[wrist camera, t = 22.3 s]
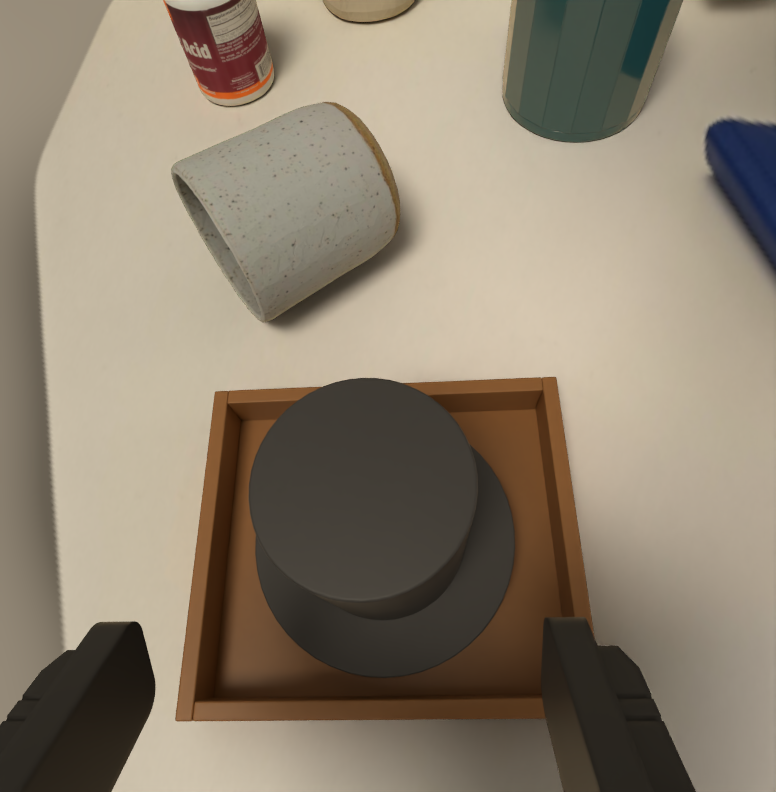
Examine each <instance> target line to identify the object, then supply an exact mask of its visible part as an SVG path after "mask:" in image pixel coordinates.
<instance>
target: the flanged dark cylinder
mask: <svg viewBox="0 0 776 792" xmlns="http://www.w3.org/2000/svg"><path fill="white" fill-rule="evenodd" d="M248 500H249V509H250V516H251V520H252V524H253V528H254V531H255V533H256V546H255V555H256V564H257V572H258V576H259V580H260V584H261V588H262V591H263V594H264V596H265V599H266V601H267V604H268V606H269V608H270V609H271V611H272V613H273V615H274V616H275V618H276V620H277V621H278V623H279V624H280V625H281V627H282V628H283V629H284V631H285V632H286V633H287V635H288V636H289V637H290V638H291V639H292V640H293V641H294V642H295V643H296V644H297V645H298V646H299V647H301V648H302V649H303V650H305V651H306V652H307V653H309V654H310V655H311V656H313V657H314V658H316V659H317V660H319V661H321V662H323V663H325V664H327V665H328V666H330V667H333V668H336V669H338V670H341V671H344V672H346V673H350V674H355V675H360V676H364V677H376V678H390V677H402V676H407V675H411V674H416V673H420V672H423V671H426V670H428V669H431V668H433V667H436V666H438V665H440V664H442V663H444V662H446V661H447V660H449V659H451V658H453V657H454V656H456V655H457V654H459V653H460V652H461V651H462V650H464V649H465V648H466V647H468V646H469V645H470V644H471V643H472V642H473V641H474V640H475V639H476V638H477V637H478V636H479V635H480V634H481V633H482V632H483V631H484V629H485V628H486V627H487V625H488V624H489V623H490V621H491V620H492V618H493V617H494V616H495V614H496V612H497V610H498V608H499V606H500V605H501V603H502V601H503V599H504V596H505V593H506V591H507V588H508V585H509V583H510V578H511V574H512V570H513V565H514V555H515V530H514V524H513V518H512V513H511V509H510V506H509V503H508V499H507V496H506V494H505V492H504V490H503V488H502V485H501V483H500V481H499V479H498V478H497V476H496V475H495V473H494V471H493V470H492V468H491V467H490V465H489V464H488V463H487V462H486V461H485V459H484V458H483V457H482V456H481V454H480V453H478V452H477V451H476V450H475V449H474V448H473V447H472V446H471V445H470V444H469V442H468V440H467V438H466V436H465V434H464V432H463V431H462V429H461V428H460V426H459V424H458V423H457V422H456V421H455V419H454V418H453V417H452V416H451V414H450V413H449V412H448V411H447V410H446V409H445V408H444V407H442V406H441V405H440V404H439V403H438V402H436V401H435V400H434V399H432V398H431V397H430V396H428V395H426V394H425V393H423V392H421V391H419V390H417V389H415V388H413V387H410V386H408V385H405V384H403V383H399V382H395V381H391V380H385V379H378V378H358V379H348V380H344V381H339V382H335V383H332V384H329V385H326V386H323V387H321V388H319V389H317V390H315V391H313V392H311V393H309V394H307V395H306V396H304V397H302V398H301V399H299V400H298V401H296V402H295V403H294V404H293V405H292V406H290V407H289V408H288V409H287V410H286V411H285V412H284V413H283V414H282V415H281V416H280V417H279V418H278V419H277V420H276V421H275V423H274V424H273V425H272V427H271V428H270V429H269V431H268V432H267V434H266V436H265V437H264V439H263V441H262V442H261V444H260V447H259V449H258V451H257V454H256V456H255V459H254V462H253V466H252V469H251V474H250V481H249V497H248Z"/></svg>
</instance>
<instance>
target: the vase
mask: <svg viewBox="0 0 776 792" xmlns="http://www.w3.org/2000/svg"><path fill="white" fill-rule="evenodd" d="M414 1H415V0H323V2H324V4H325V5H326V7H327V8H328V9H329V10H330V11H331V12H332V13H333V14H335V15H336V16H338V17H340V18H342V19H345V20H349V21H357V22H370V21H378V20H383V19H387V18H390V17H393V16H396V15H398V14H400V13H401V12H403V11H405V10H406V9H407V8H408V7H410V6H411V5H412V4H413V2H414Z"/></svg>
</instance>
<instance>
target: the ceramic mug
mask: <svg viewBox="0 0 776 792" xmlns="http://www.w3.org/2000/svg"><path fill="white" fill-rule="evenodd" d="M171 171H172V173H171V174H172V179H173V182H174V185H175V188H176V190H177V192H178V194H179V196H180V198H181V200H182V202H183V204H184V206H185V208H186V210H187V212H188V214H189V216H190V217H191V219H192V221H193V223H194V224H195V226H196V228H197V230H198V232H199V234H200V236H201V237H202V239H203V240H204V242H205V244H206V246H207V247H208V249H209V251H210V253H211V254H212V256H213V257H214V259H215V261H216V262H217V264H218V266H219V267H220V269H221V270H222V272H223V274H224V275H225V277H226V278H227V279H228V281H229V282H230V283H231V285H232V287H233V288H234V290H235V292H236V293H237V295H238V296H239V297H240V299H241V300H242V301H243V303H244V304H245V305H246V306H247V308H248V309H249V310H250V311H251V313H252V314H253V315H254V316H255V317H256V318H257V319H258V320H260V321H262V322H267V321H270V320H272V319H274V318H276V317H277V316H279V315H280V314H282V313H283V312H285V311H286V310H287V309H289V308H291V307H292V306H294V305H296V304H297V303H299V302H301V301H302V300H304V299H306V298H307V297H309V296H310V295H312V294H313V293H315V292H317V291H318V290H320V289H321V288H323V287H324V286H326V285H328V284H329V283H331V282H332V281H334V280H335V279H337V278H338V277H340V276H342V275H343V274H345V273H346V272H348V271H350V270H352V269H353V268H355V267H357V266H359V265H360V264H362V263H363V262H365V261H367V260H368V259H370V258H371V257H373V256H374V255H376V254H377V253H378V252H379V251H380V250H381V249H382V248H383V247H385V246H386V245H387V244H388V243H389V242H390V241H391V240H392V238H393V237H394V236H395V234H396V232H397V230H398V225H399V221H400V200H399V195H398V189H397V186H396V183H395V180H394V177H393V173H392V170H391V168H390V166H389V163H388V161H387V159H386V157H385V155H384V153H383V151H382V149H381V147H380V146H379V144H378V142H377V141H376V139H375V138H374V136H373V135H372V133H371V132H370V131H369V129H368V128H367V127H366V125H365V124H364V123H363V122H362V121H361V120H360V118H359V117H357V116H356V115H355V114H354V113H352V112H351V111H350V110H348V109H347V108H345V107H343V106H341V105H339V104H337V103H331V102H323V103H317V104H313V105H309V106H305V107H301V108H298V109H295V110H293V111H290V112H288V113H286V114H284V115H282V116H279V117H277V118H275V119H273V120H271V121H269V122H267V123H265V124H263V125H261V126H259V127H257V128H255V129H252V130H250V131H248V132H245V133H243V134H241V135H238V136H236V137H233V138H231V139H229V140H226V141H224V142H222V143H219V144H217V145H215V146H212V147H210V148H208V149H206V150H203V151H201V152H199V153H196V154H194V155H192V156H189V157H187V158H185V159H183V160H180V161H178V162H176V163H175V164H174V165H173V167H172V169H171Z"/></svg>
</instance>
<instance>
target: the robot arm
mask: <svg viewBox="0 0 776 792" xmlns="http://www.w3.org/2000/svg"><path fill="white" fill-rule="evenodd" d="M541 690H542V700H543V707H544V712H545V717H546V721H547V725H548V729H549V733H550V737H551V741H552V745H553V750H554V754H555V758H556V762H557V766H558V770H559V774H560V779H561V783H562V787H563V791H564V792H696V791H695V789H694V787H693V785H692V782H691V780H690V778H689V776H688V774H687V771H686V769H685V767H684V765H683V763H682V761H681V758H680V756H679V754H678V752H677V750H676V747H675V745H674V743H673V741H672V739H671V736H670V734H669V732H668V730H667V728H666V726H665V723H664V721H662V720H661V715H660V712H659V710H658V708H657V706H656V704H655V701H654V699H652V698H651V693H650V691H649V688H648V686H647V684H646V682H645V680H644V677H643V675H642V673H641V671H640V669H639V667H638V666H637V665H636V664H635V663H634V662H633V661H632V660H631V659H630V658H629V657H628V656H627V655H626V654H625V653H624V652H623V651H622V650H621V649H620V648H619V647H618V646H597V644H596V641H595V639H594V636H593V634H592V631H591V628H590V626H589V623H588V621H587V619H586V618H585V617H545V619H544V625H543V645H542V666H541ZM154 697H155V678H154V674H153V670H152V666H151V662H150V658H149V654H148V650H147V646H146V642H145V639H144V635H143V631H142V628H141V626H140V624H139V623H138V622H99V623H96V624H95V625H94V626H93V627H92V628H91V629H90V630H89V632H88V633H87V635H86V636H85V637H84V639H83V640H82V642H81V643H80V644H79V646H78V647H77V649H76V650H67V651H66V652H64V653H63V654H62V655H61V656H59V657H58V658H57V659H56V660H54V661H53V662H52V663H51V664H49V665H48V666H47V667H46V668H45V669H43V670H42V671H41V672H40V674H39V675H38V676H37V677H36V679H35V680H34V681H33V683H32V684H31V685H30V686H29V688H28V689H27V691H26V692H25V693H24V694H23V698H22V700H21V701H18V702H17V704H16V705H15V706H14V708H13V709H12V710H11V712H10V713H9V714H8V716H7V720H6V721H3V722H2V723H1V725H0V792H111V791H112V789H113V787H114V785H115V783H116V781H117V779H118V777H119V775H120V773H121V771H122V769H123V767H124V765H125V763H126V761H127V759H128V757H129V755H130V753H131V751H132V749H133V747H134V745H135V743H136V741H137V739H138V737H139V735H140V733H141V731H142V729H143V727H144V725H145V723H146V721H147V719H148V717H149V714H150V712H151V709H152V706H153V702H154Z"/></svg>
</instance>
